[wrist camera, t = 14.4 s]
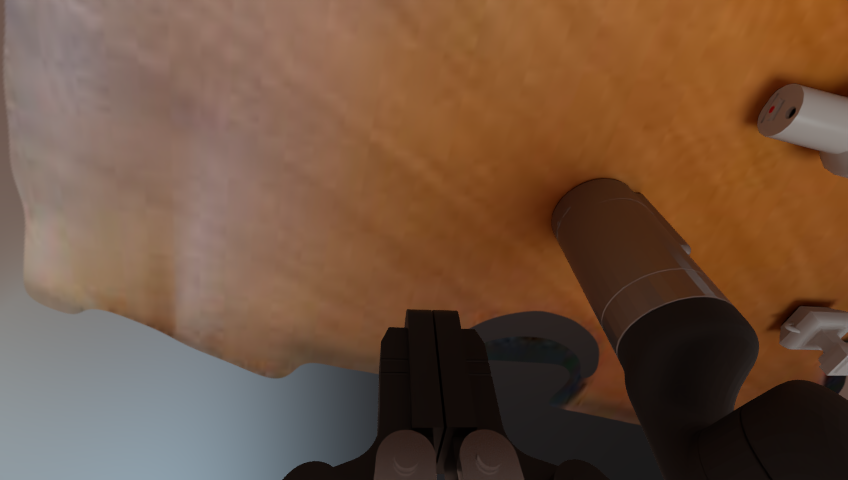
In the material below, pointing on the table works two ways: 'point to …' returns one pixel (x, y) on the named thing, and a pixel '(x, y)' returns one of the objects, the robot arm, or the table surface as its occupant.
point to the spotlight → (809, 123)
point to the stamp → (819, 336)
